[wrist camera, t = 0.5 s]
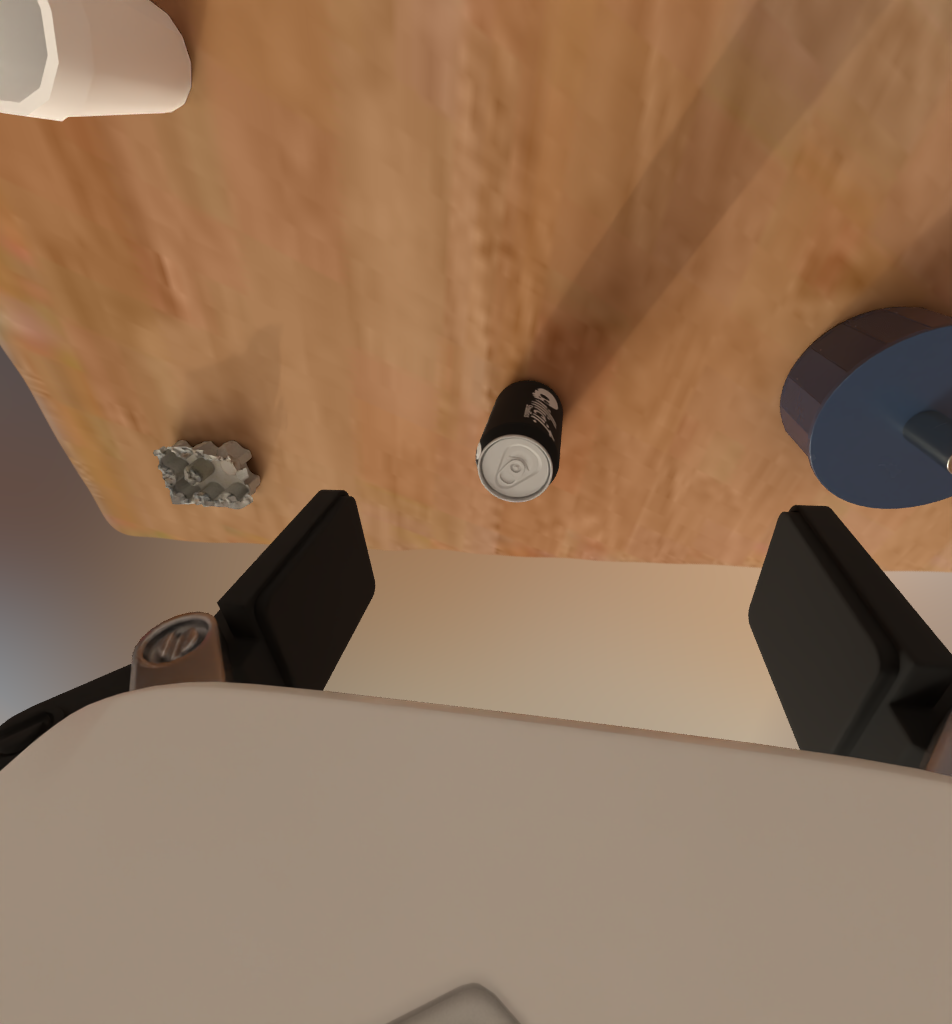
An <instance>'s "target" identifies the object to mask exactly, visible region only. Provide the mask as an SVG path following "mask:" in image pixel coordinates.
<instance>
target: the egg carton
mask: <svg viewBox="0 0 952 1024" xmlns="http://www.w3.org/2000/svg"><path fill="white" fill-rule="evenodd" d="M153 454H154V455H155V456H158V459H159V465H158V469H160V470H161V471H162V473H163V479H164V480H165V484H166V488H169V490H170V496H171V500H172V503H173V504H193V503H194V504H196V505H200V504H202V505H203V506H204V507H207V506H216V507H228V508H233V509H241V508H243V507H245V506H247V505H248V504H250V503H252V502H253V498H252V497H251V495H252V494H254V493H255V492H256V487H257V486H258V485H260V482H261V481H260V477H259V476H258V475H254V474H253V473H252V472H250V470H249V468H248V467H247V464H246V462H247V461H248V460H249V459H251V458H252V456H251V453H250V451H249V450H247V449H244V448H242V447H241V446H240V445H239V444H238V443H237V442H235V441H229V442H227V443H223V445H222V446H221V447H219V448H218V447H216V446H215V445H214V444H213V443H212V442H211V441H208V442H203V443H201V444H197V445H196V446H194V447H191V446H190V445H189V444H188V443H187V441H183V440H180V441H178V442H177V443H176V444H175V445H173V446H172V447H167V448H165V447H162V448H160V449H159V450H154V452H153Z"/></svg>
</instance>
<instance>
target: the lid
mask: <svg viewBox="0 0 952 1024" xmlns="http://www.w3.org/2000/svg"><path fill="white" fill-rule="evenodd" d="M807 449H808V458H809V462H810V466H811V468H812V470H813V472H814V474H815V476H816V477H817V478H818V480H819V481H820V482H821V484H822V485H823V486H824V487H825V488H826V489H828V490H829V491H830V492H831V493H833V494H834V495H836V496H837V497H839V498H841V499H843V500H845V501H847V502H850V503H853V504H856V505H860V506H865V507H870V508H881V509H898V508H907V507H914V506H920V505H925V504H929V503H933V502H936V501H940V500H943V499H946V498H948V497H951V496H952V323H950V324H945V325H940V326H935V327H931V328H927V329H924V330H921V331H917V332H914V333H912V334H909V335H907V336H904V337H902V338H899V339H897V340H895V341H893V342H891V343H889V344H887V345H885V346H883V347H882V348H880V349H878V350H877V351H875V352H874V353H872V354H870V355H869V356H867V357H866V358H865V359H863V360H862V361H860V362H859V363H858V364H856V365H855V366H854V367H853V368H852V369H851V370H849V371H848V372H847V373H846V374H845V375H844V376H843V377H842V378H841V379H840V380H839V381H838V382H837V383H836V384H835V385H834V387H833V388H832V389H831V390H830V391H829V393H828V394H827V395H826V397H825V398H824V400H823V401H822V403H821V405H820V406H819V408H818V410H817V412H816V414H815V416H814V418H813V421H812V423H811V427H810V431H809V435H808V444H807Z"/></svg>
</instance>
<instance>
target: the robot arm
mask: <svg viewBox="0 0 952 1024" xmlns="http://www.w3.org/2000/svg"><path fill="white" fill-rule="evenodd" d="M374 591H375V579H374V576H373V571H372V567H371V563H370V559H369V555H368V550H367V546H366V542H365V538H364V534H363V530H362V525H361V521H360V517H359V513H358V509H357V505H356V501H355V499H354V498H353V497H352V496H349V495H348V493H347V492H346V491H344V490H320V491H319V492H318V493H317V494H316V495H315V496H314V497H313V498H312V500H311V501H310V502H309V503H308V504H307V505H306V506H305V507H304V508H303V509H302V510H301V512H300V513H299V514H298V515H297V516H296V517H295V518H294V519H293V520H292V521H291V522H290V524H289V525H288V526H287V527H286V528H285V529H284V530H283V531H282V532H281V533H280V534H279V536H278V537H277V538H276V539H275V540H274V541H273V542H272V543H271V544H270V545H269V547H268V548H267V549H266V550H265V551H264V552H263V553H262V554H261V555H260V556H259V558H258V559H257V560H256V561H255V562H254V563H253V564H252V565H251V566H250V567H249V568H248V569H247V571H246V572H245V573H244V574H243V575H242V576H241V577H240V578H239V579H238V580H237V582H236V583H235V584H234V585H233V586H232V587H231V588H230V589H229V590H228V591H227V592H226V593H225V595H224V596H223V597H222V598H221V599H220V600H219V601H218V602H217V603H218V605H219V607H220V610H219V611H218V612H217V614H216V615H215V616H214V617H213V616H212V615H210V614H209V613H204V612H192V613H191V612H190V613H185V614H182V615H178V616H175V617H172V618H170V619H168V620H166V621H164V622H162V623H160V624H159V625H157V626H156V627H154V628H152V629H151V630H150V631H149V632H148V633H147V634H145V636H143V637H142V638H141V639H140V641H139V642H138V644H137V645H136V646H135V649H134V652H133V655H132V664H130V665H128V666H126V667H123V668H121V669H118V670H116V671H114V672H111V673H109V674H107V675H104V676H102V677H100V678H97V679H95V680H93V681H90V682H88V683H86V684H83V685H81V686H79V687H77V688H74V689H72V690H70V691H67V692H65V693H62V694H60V695H58V696H56V697H53V698H51V699H49V700H46V701H44V702H42V703H39V704H37V705H35V706H32V707H30V708H29V709H27V710H25V711H23V712H21V713H19V714H17V715H15V716H13V717H12V718H10V719H9V720H7V721H6V722H5V723H3V724H2V725H1V726H0V1024H952V654H951V653H950V652H949V651H948V649H947V648H946V647H945V646H944V645H943V643H942V642H941V641H940V640H939V639H938V638H937V636H936V635H935V634H934V633H933V631H932V630H931V629H930V628H929V626H928V625H927V624H926V623H925V622H924V620H923V619H922V618H921V617H920V616H919V614H918V613H917V612H916V611H915V610H914V609H913V607H912V606H911V605H910V604H909V602H908V601H907V600H906V599H905V597H904V596H903V595H902V594H901V593H900V591H899V590H898V589H897V588H896V587H895V585H894V584H893V583H892V582H891V581H890V579H889V578H888V577H887V576H886V575H885V573H884V572H883V571H882V570H881V568H880V567H879V566H878V565H877V564H876V562H875V561H874V560H873V559H872V558H871V556H870V555H869V554H868V553H867V552H866V550H865V549H864V548H863V547H862V545H861V544H860V543H859V542H858V541H857V539H856V538H855V537H854V536H853V535H852V533H851V532H850V531H849V530H848V529H847V527H846V526H845V525H844V524H843V523H842V521H841V520H840V519H839V518H838V516H837V515H836V514H835V513H834V512H833V510H832V509H831V508H829V507H827V506H805V505H795V506H793V507H792V508H791V509H790V510H789V512H782V513H781V514H780V516H779V518H778V521H777V524H776V527H775V530H774V533H773V536H772V539H771V542H770V545H769V549H768V552H767V555H766V558H765V561H764V564H763V567H762V570H761V574H760V576H759V580H758V582H757V586H756V589H755V592H754V595H753V598H752V601H751V604H750V607H749V614H748V616H749V624H750V627H751V629H752V632H753V634H754V637H755V639H756V642H757V644H758V647H759V649H760V652H761V654H762V657H763V659H764V662H765V664H766V667H767V669H768V672H769V674H770V676H771V679H772V681H773V684H774V686H775V688H776V691H777V694H778V696H779V699H780V701H781V703H782V706H783V709H784V711H785V714H786V716H787V718H788V721H789V724H790V726H791V728H792V731H793V733H794V736H795V738H796V741H797V743H798V746H799V748H800V750H797V749H790V748H783V747H776V746H769V745H762V744H755V743H748V742H740V741H732V740H724V739H716V738H708V737H700V736H693V735H684V734H677V733H669V732H661V731H653V730H645V729H638V728H629V727H622V726H614V725H606V724H598V723H590V722H581V721H574V720H565V719H557V718H548V717H540V716H532V715H525V714H516V713H508V712H500V711H492V710H483V709H474V708H467V707H458V706H450V705H442V704H433V703H424V702H416V701H407V700H398V699H390V698H382V697H372V696H364V695H356V694H347V693H338V692H330V691H323V689H324V687H325V686H326V684H327V682H328V680H329V678H330V676H331V674H332V672H333V671H334V669H335V667H336V665H337V663H338V661H339V659H340V657H341V655H342V653H343V652H344V650H345V648H346V646H347V644H348V642H349V640H350V638H351V637H352V634H353V633H354V631H355V629H356V627H357V625H358V623H359V622H360V620H361V618H362V616H363V614H364V612H365V610H366V608H367V606H368V605H369V603H370V601H371V599H372V597H373V595H374Z"/></svg>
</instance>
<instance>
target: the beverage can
mask: <svg viewBox="0 0 952 1024" xmlns="http://www.w3.org/2000/svg"><path fill="white" fill-rule="evenodd" d="M562 419H563V409H562V405H561V402H560V400H559V398H558V396H557V395H556V393H555V392H554V391H553V390H552V389H551V388H549V387H548V386H546V385H544V384H542V383H540V382H536V381H529V380H528V381H519V382H516V383H513V384H511V385H510V386H508V387H507V388H505V389H504V390H503V391H502V392H501V393H500V395H499V396H498V398H497V400H496V402H495V405H494V407H493V410H492V412H491V415H490V417H489V419H488V422H487V424H486V427H485V429H484V432H483V434H482V437H481V439H480V442H479V444H478V447H477V451H476V464H477V468H478V474H479V477H480V480H481V482H482V484H483V485H484V487H485V488H486V489H487V490H488V491H489V492H490V493H491V494H493V495H494V496H496V497H498V498H500V499H502V500H506V501H510V502H524V501H529V500H531V499H534V498H536V497H538V496H539V495H540V494H542V493H543V492H544V491H545V490H546V488H547V487H548V486H549V485H550V484H551V482H552V481H553V480H554V478H555V476H556V474H557V472H558V468H559V459H560V446H561V433H562Z"/></svg>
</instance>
